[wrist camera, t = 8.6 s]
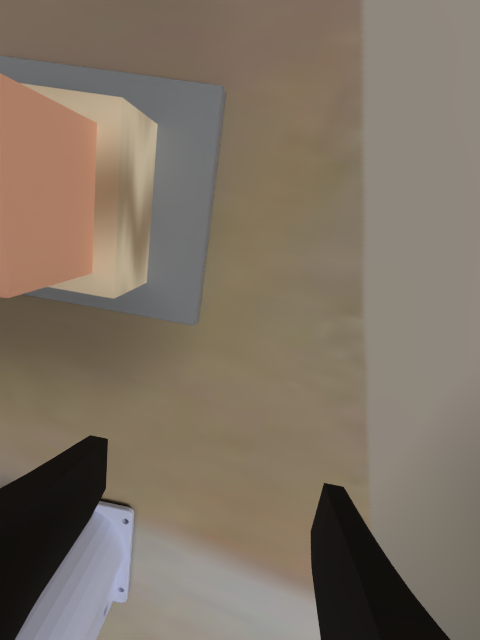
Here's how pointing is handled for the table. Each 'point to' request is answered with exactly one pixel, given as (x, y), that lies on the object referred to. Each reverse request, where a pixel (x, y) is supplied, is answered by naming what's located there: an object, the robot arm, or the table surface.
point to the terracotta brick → (44, 191)
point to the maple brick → (115, 191)
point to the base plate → (155, 181)
